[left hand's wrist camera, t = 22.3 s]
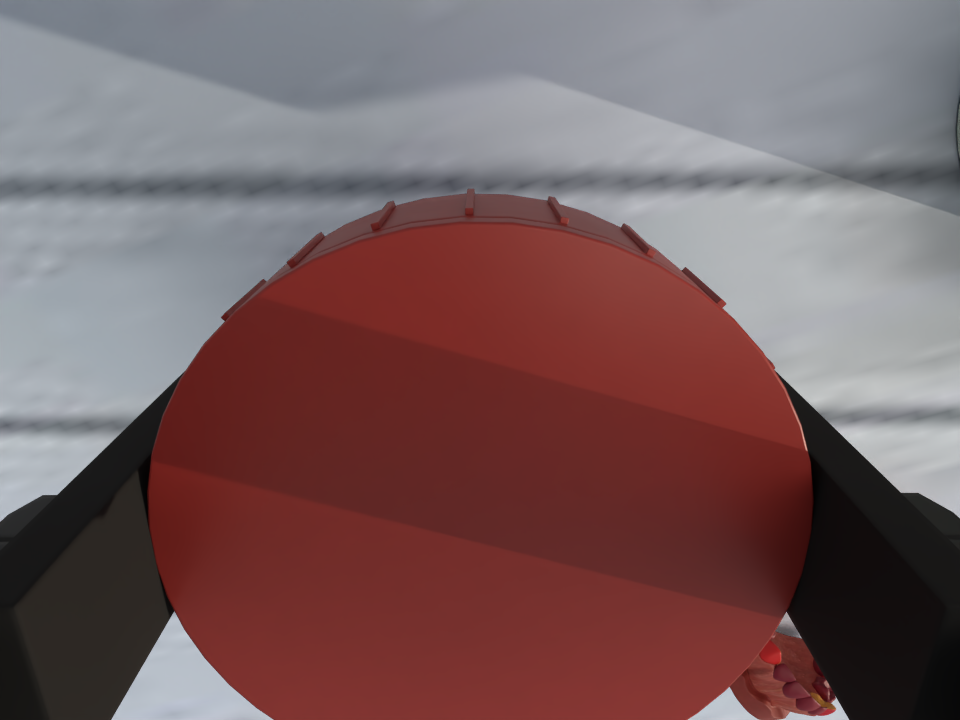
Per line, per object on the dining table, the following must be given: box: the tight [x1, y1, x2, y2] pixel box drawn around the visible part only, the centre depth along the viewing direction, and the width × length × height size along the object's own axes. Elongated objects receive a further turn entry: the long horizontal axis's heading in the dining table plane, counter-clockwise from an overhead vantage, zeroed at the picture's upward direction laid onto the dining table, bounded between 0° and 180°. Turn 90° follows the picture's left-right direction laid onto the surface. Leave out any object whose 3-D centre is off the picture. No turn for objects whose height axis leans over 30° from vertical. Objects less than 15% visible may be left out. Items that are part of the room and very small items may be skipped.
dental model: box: [729, 631, 836, 720], centre depth 24 cm, size 6×4×8 cm
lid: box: [147, 189, 814, 720], centre depth 11 cm, size 10×10×2 cm
